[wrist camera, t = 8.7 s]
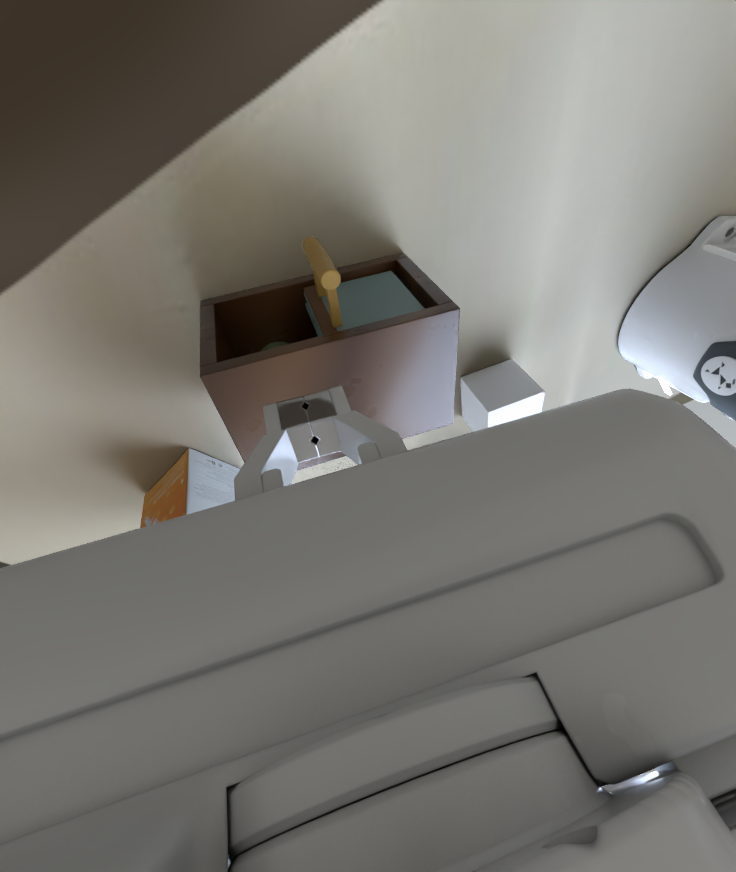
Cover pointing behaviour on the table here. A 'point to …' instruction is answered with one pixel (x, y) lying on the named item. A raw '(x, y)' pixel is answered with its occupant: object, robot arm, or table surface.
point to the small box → (189, 488)
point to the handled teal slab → (352, 294)
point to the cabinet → (330, 356)
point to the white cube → (499, 395)
